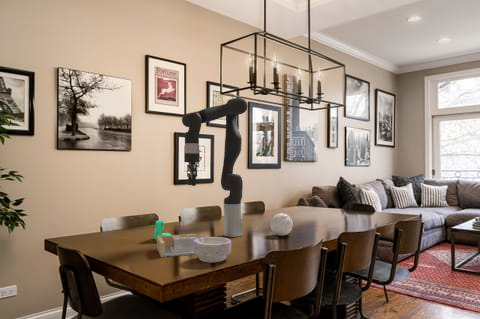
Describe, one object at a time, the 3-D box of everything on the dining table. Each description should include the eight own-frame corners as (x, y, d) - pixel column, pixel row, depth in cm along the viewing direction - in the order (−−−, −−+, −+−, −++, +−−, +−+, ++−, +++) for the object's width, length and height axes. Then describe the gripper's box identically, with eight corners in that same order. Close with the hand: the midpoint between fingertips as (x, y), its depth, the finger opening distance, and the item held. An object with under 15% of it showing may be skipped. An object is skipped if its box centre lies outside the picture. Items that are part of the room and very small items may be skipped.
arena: (196, 246, 175) (196, 233, 175) (203, 253, 160) (203, 240, 160) (157, 248, 169) (157, 236, 169) (160, 257, 154) (160, 243, 154)
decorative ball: (277, 238, 192) (277, 215, 193) (266, 234, 203) (266, 212, 204) (297, 236, 197) (296, 214, 198) (285, 232, 208) (285, 211, 208)
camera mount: (174, 241, 186) (174, 221, 186) (159, 243, 182) (159, 222, 183) (168, 237, 197) (168, 218, 197) (153, 239, 193) (153, 219, 194)
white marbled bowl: (232, 264, 142) (232, 243, 143) (192, 265, 141) (192, 244, 141) (230, 254, 158) (230, 236, 158) (194, 255, 156) (194, 236, 156)
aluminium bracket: (194, 245, 171) (194, 234, 171) (197, 249, 163) (197, 238, 163) (172, 247, 168) (172, 236, 168) (174, 251, 160) (174, 239, 160)
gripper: (202, 152, 179) (202, 185, 179) (196, 153, 193) (196, 184, 193) (186, 152, 177) (186, 186, 177) (182, 153, 191) (182, 184, 190)
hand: (191, 185), depth 185 cm, fingers open, 8 cm apart
